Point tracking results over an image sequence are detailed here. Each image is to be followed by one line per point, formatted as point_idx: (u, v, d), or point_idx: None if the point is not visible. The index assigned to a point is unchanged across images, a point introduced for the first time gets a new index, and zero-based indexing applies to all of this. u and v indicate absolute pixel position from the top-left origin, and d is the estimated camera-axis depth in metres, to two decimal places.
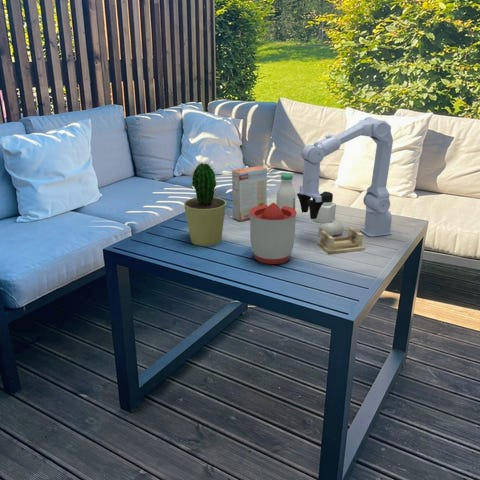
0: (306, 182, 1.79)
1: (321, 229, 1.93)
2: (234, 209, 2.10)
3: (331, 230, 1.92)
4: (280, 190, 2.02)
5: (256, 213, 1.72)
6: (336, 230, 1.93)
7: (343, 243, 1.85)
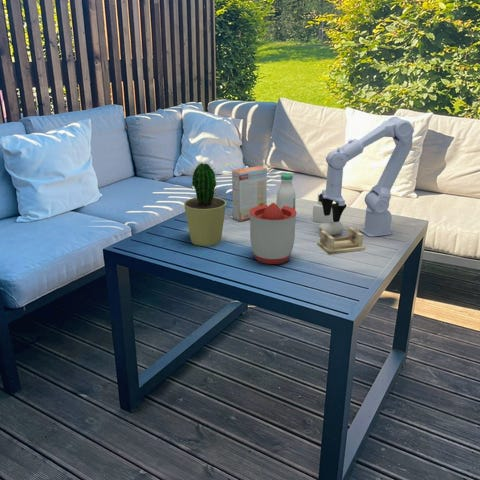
0: (330, 186, 1.86)
1: (321, 229, 1.93)
2: (234, 209, 2.10)
3: (331, 229, 1.92)
4: (280, 190, 2.02)
5: (256, 213, 1.72)
6: (336, 229, 1.93)
7: (343, 243, 1.85)
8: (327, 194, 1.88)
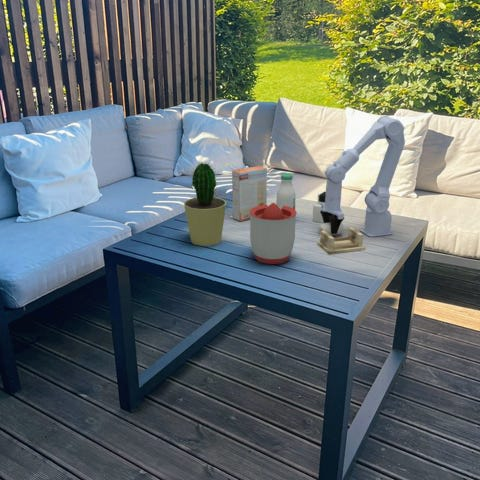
0: (329, 200, 1.88)
1: (321, 229, 1.93)
2: (234, 209, 2.10)
3: None
4: (280, 190, 2.02)
5: (256, 213, 1.72)
6: None
7: (343, 243, 1.85)
8: (326, 207, 1.90)
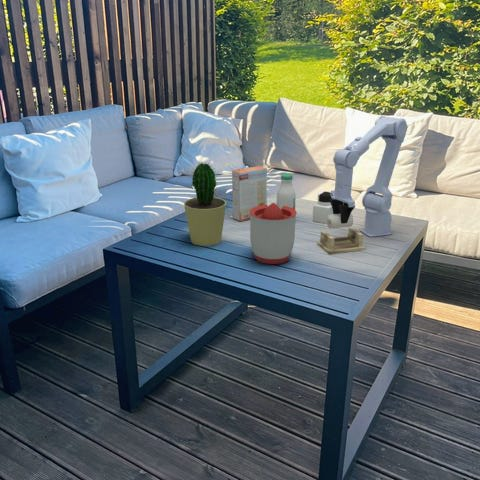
0: (339, 187, 1.76)
1: (330, 220, 1.81)
2: (234, 209, 2.10)
3: (340, 222, 1.80)
4: (280, 190, 2.02)
5: (256, 213, 1.72)
6: None
7: (343, 243, 1.85)
8: (336, 195, 1.78)
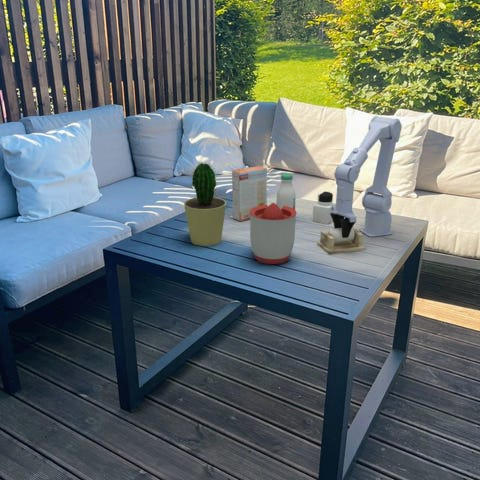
0: (340, 201, 1.76)
1: (331, 235, 1.81)
2: (234, 209, 2.10)
3: (341, 237, 1.80)
4: (280, 190, 2.02)
5: (256, 213, 1.72)
6: None
7: (343, 243, 1.85)
8: (337, 209, 1.77)
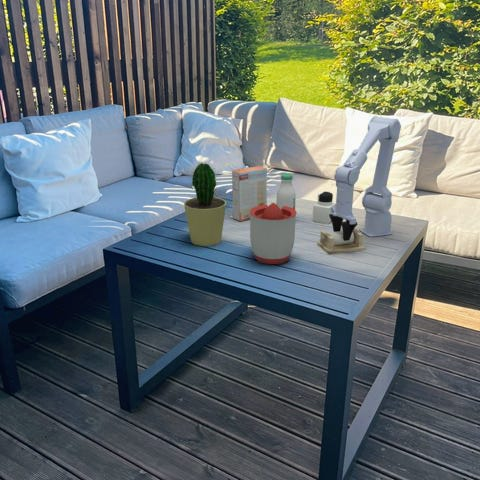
0: (340, 204, 1.76)
1: None
2: (234, 209, 2.10)
3: (341, 240, 1.80)
4: (280, 190, 2.02)
5: (256, 213, 1.72)
6: None
7: None
8: (337, 211, 1.78)
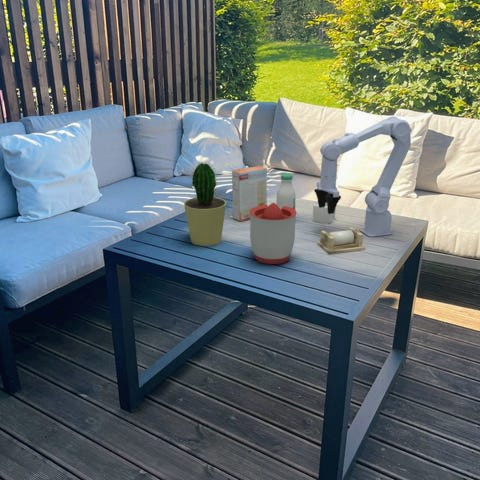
0: (324, 178, 1.85)
1: None
2: (234, 209, 2.10)
3: (341, 240, 1.80)
4: (280, 190, 2.02)
5: (256, 213, 1.72)
6: (346, 240, 1.81)
7: None
8: (321, 186, 1.87)
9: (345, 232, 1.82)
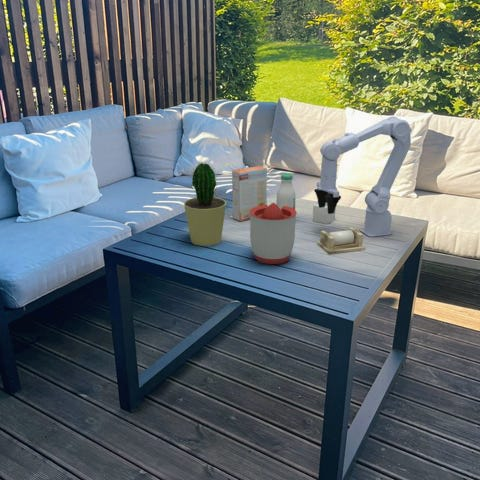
0: (324, 178, 1.85)
1: None
2: (234, 209, 2.10)
3: (341, 240, 1.80)
4: (280, 190, 2.02)
5: (256, 213, 1.72)
6: (346, 240, 1.81)
7: None
8: (321, 186, 1.87)
9: (345, 232, 1.82)
